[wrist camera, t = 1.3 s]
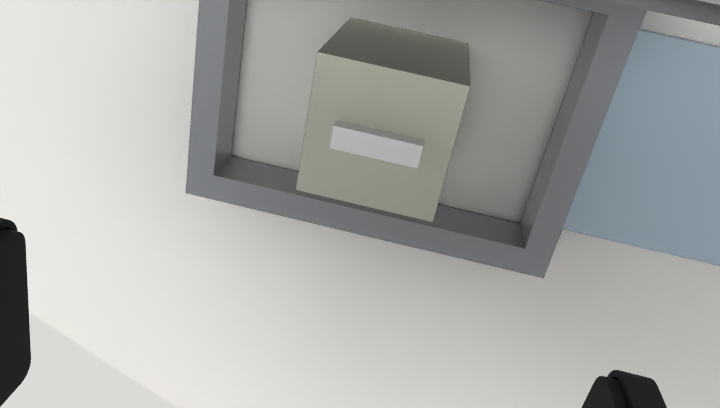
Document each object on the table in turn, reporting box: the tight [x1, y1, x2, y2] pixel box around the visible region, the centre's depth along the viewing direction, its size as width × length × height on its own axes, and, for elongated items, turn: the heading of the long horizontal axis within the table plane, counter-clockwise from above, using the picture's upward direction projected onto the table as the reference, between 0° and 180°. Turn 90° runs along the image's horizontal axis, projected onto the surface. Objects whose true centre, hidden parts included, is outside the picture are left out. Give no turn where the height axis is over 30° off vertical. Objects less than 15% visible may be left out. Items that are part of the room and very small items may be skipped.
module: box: [296, 17, 470, 222], centre depth 24 cm, size 5×5×8 cm
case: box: [186, 0, 720, 278], centre depth 20 cm, size 19×14×15 cm
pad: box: [563, 29, 720, 266], centre depth 26 cm, size 9×9×1 cm
